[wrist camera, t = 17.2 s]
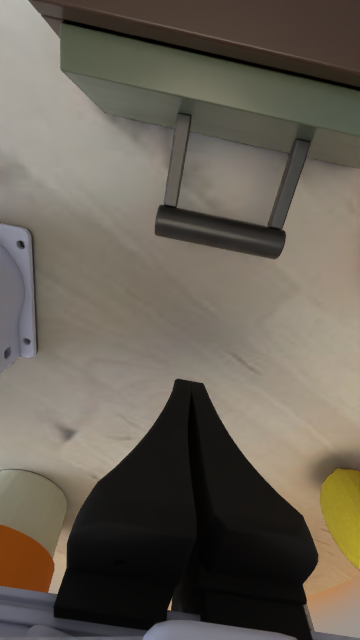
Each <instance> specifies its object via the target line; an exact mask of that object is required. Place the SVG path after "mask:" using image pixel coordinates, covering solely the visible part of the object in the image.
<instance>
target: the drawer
mask: <svg viewBox="0 0 360 640" xmlns="http://www.w3.org/2000/svg"><path fill="white" fill-rule="evenodd" d="M115 33H116V35H114V34H109V33H105V32H100V31H96V30H92V29H87V28H83V27H79V26H74V25H70V24H66V23H61V24H60V68H61V71H62V72H63V73H64V74H65V75H66V76H67V77H68V78H69V79H71V80H72V81H73V82H74V83H75V84H76V85H77V86H78V87H79V88H80V89H81V90H82V91H83V92H84V93H85V94H86V95H87V96H88V97H89V98H90V99H91V100H92V101H93V102H94V103H95V104H96V105H97V106H98V107H99V108H100V109H101V110H102V111H103V112H104V113H106V114H111V115H116V116H120V117H125V118H129V119H134V120H139V121H143V122H148V123H152V124H157V125H162V126H166V127H171V128H175V132H174V138H173V145H172V152H171V158H170V165H169V172H168V178H167V185H166V192H165V199H164V205H160V206H159V208H158V212H157V216H156V223H155V235H157V236H162V237H167V238H171V239H176V240H181V241H186V242H191V243H196V244H201V245H206V246H211V247H216V248H221V249H226V250H231V251H236V252H240V253H245V254H250V255H255V256H260V257H265V258H270V259H277V258H278V257H279V256H280V254H281V252H282V250H283V247H284V244H285V239H286V233H285V231H284V230H282V228H283V225H284V222H285V219H286V216H287V213H288V210H289V207H290V204H291V201H292V198H293V195H294V192H295V189H296V186H297V183H298V180H299V177H300V175H301V172H302V169H303V166H304V163H305V160H306V157H308V158H313V159H318V160H322V161H327V162H331V163H336V164H341V165H345V166H350V167H354V168H359V169H360V87H358V86H354V85H349V84H345V83H341V82H336V81H332V80H328V79H323V78H319V77H314V76H310V75H306V74H301V73H297V72H293V71H288V70H284V69H280V68H275V67H271V66H266V65H262V64H258V63H253V62H249V61H245V60H240V59H236V58H232V57H227V56H223V55H218V54H214V53H210V52H205V51H201V50H197V49H192V48H188V47H184V46H179V45H175V44H170V43H166V42H162V41H157V40H153V39H149V38H144V37H140V36H136V35H131V34H127V33H122V32H118V31H115ZM190 132H194V133H198V134H203V135H207V136H212V137H217V138H221V139H226V140H230V141H235V142H240V143H244V144H249V145H253V146H258V147H263V148H267V149H272V150H276V151H281V152H285V153H290V154H289V157H288V160H287V164H286V167H285V170H284V173H283V176H282V180H281V183H280V186H279V189H278V193H277V196H276V199H275V202H274V205H273V209H272V212H271V215H270V218H269V222H268V227H267V226H262V225H258V224H253V223H248V222H243V221H238V220H233V219H229V218H224V217H219V216H214V215H209V214H205V213H200V212H195V211H190V210H185V209H180V208H176V207H177V204H178V198H179V193H180V187H181V181H182V175H183V169H184V163H185V157H186V151H187V145H188V140H189V134H190Z"/></svg>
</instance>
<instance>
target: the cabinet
mask: <svg viewBox="0 0 360 640" xmlns="http://www.w3.org/2000/svg"><path fill="white" fill-rule="evenodd" d="M29 2H30V3H31V4H32V5H33V6H34V8H35V9H36V10H37V11H38V12H39V13H40V14H41V16H42V17H43V18H44V19H45V21H46V22H47V23H48V24H49V26H50V27H51V28H52V29H53V30H54V32H55V33H56V34H57V35H58V36H59V38H60V24H61V23H66V24H70V25H74V26H79V27H83V28H87V29H92V30H96V31H100V32H105V33H109V34H114V35H116V33H115V31H118V32H122V33H127V34H131V35H136V36H140V37H144V38H149V39H153V40H157V41H162V42H166V43H170V44H175V45H179V46H184V47H188V48H192V49H197V50H201V51H205V52H210V53H214V54H218V55H223V56H227V57H232V58H236V59H240V60H245V61H249V62H253V63H258V64H262V65H266V66H271V67H275V68H280V69H284V70H288V71H293V72H297V73H301V74H306V75H310V76H314V77H319V78H323V79H328V80H332V81H336V82H341V83H345V84H349V85H354V86H358V87H360V0H29Z"/></svg>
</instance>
